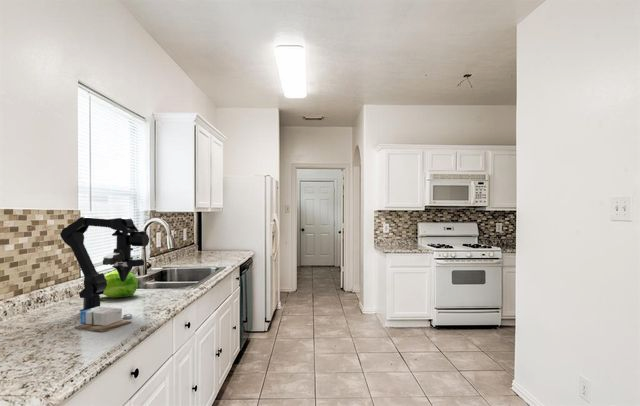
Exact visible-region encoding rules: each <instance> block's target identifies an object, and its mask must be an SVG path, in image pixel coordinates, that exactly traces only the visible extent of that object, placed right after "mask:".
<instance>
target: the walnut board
mask: <svg viewBox="0 0 640 406" xmlns="http://www.w3.org/2000/svg"><path fill="white" fill-rule="evenodd" d="M131 323H132V321H131V320H127V319H122V320H121V321H118V322H115V323H112V324H109V325H106V326H102V325H91V324H81V323H80V324H79V325H74V329H80V330H85V331H91V332H97V333H103V332H108V331H110V330H113V329H117V328H119V327H122V326H126V325H129V324H131Z"/></svg>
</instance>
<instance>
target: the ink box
mask: <svg viewBox="0 0 640 406" xmlns="http://www.w3.org/2000/svg"><path fill="white" fill-rule="evenodd" d="M122 314H123V308H119V307H109V306H108V307H107V306H100V307H99V306H98V307H95V308H91V309H88V310H85V311H80V317H79V318H80V320H79V321H80V325H81V324H91V325H102V326H106V325H109V324H112V323H115V322H118V321H121V320H123V315H122Z"/></svg>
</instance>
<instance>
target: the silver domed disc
mask: <svg viewBox="0 0 640 406" xmlns="http://www.w3.org/2000/svg"><path fill="white" fill-rule="evenodd" d="M129 319H133V314H132V313H128V314H127V313H126V314H123V315H122V320H129Z"/></svg>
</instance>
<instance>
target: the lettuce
mask: <svg viewBox="0 0 640 406" xmlns="http://www.w3.org/2000/svg"><path fill="white" fill-rule="evenodd" d="M104 276H105V279H106V280H107V281H106V282H107V286H106V289H105V290H104V292H103V294H102V295H103V296H107V297H110V298H126V297H130V296H133V295H135V293H136V291H137V289H138V287H139V281H138V278H137V277H136V275H135V274H134V273H133V272H132V271H130V272H129V274H128V276H127V278H126V280H125V281H124V282H122V281H121V279H120V276H119V273H118V271H117V269H115V270H113V271H111V272H109V273H107V274H106V275H104Z"/></svg>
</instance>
